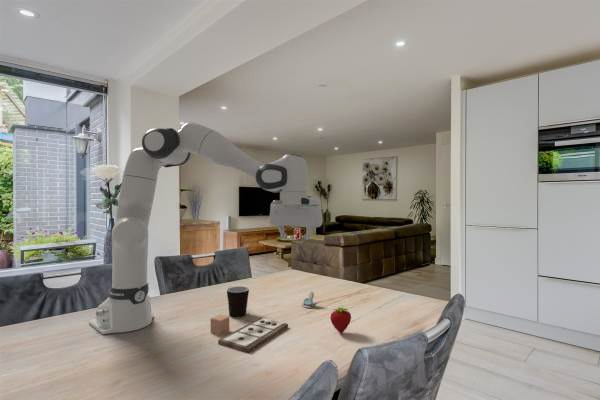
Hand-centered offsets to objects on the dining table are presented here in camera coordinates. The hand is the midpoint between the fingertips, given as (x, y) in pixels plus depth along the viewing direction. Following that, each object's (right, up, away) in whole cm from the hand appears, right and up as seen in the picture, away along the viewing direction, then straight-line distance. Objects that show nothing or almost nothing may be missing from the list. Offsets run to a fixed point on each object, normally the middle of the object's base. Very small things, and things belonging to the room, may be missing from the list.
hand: (294, 239), depth 111 cm
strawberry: (+16, -32, -5) cm, 36 cm away
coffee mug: (-22, -32, +13) cm, 41 cm away
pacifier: (+6, -32, +23) cm, 40 cm away
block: (-25, -31, -4) cm, 41 cm away
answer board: (-13, -31, -7) cm, 35 cm away
